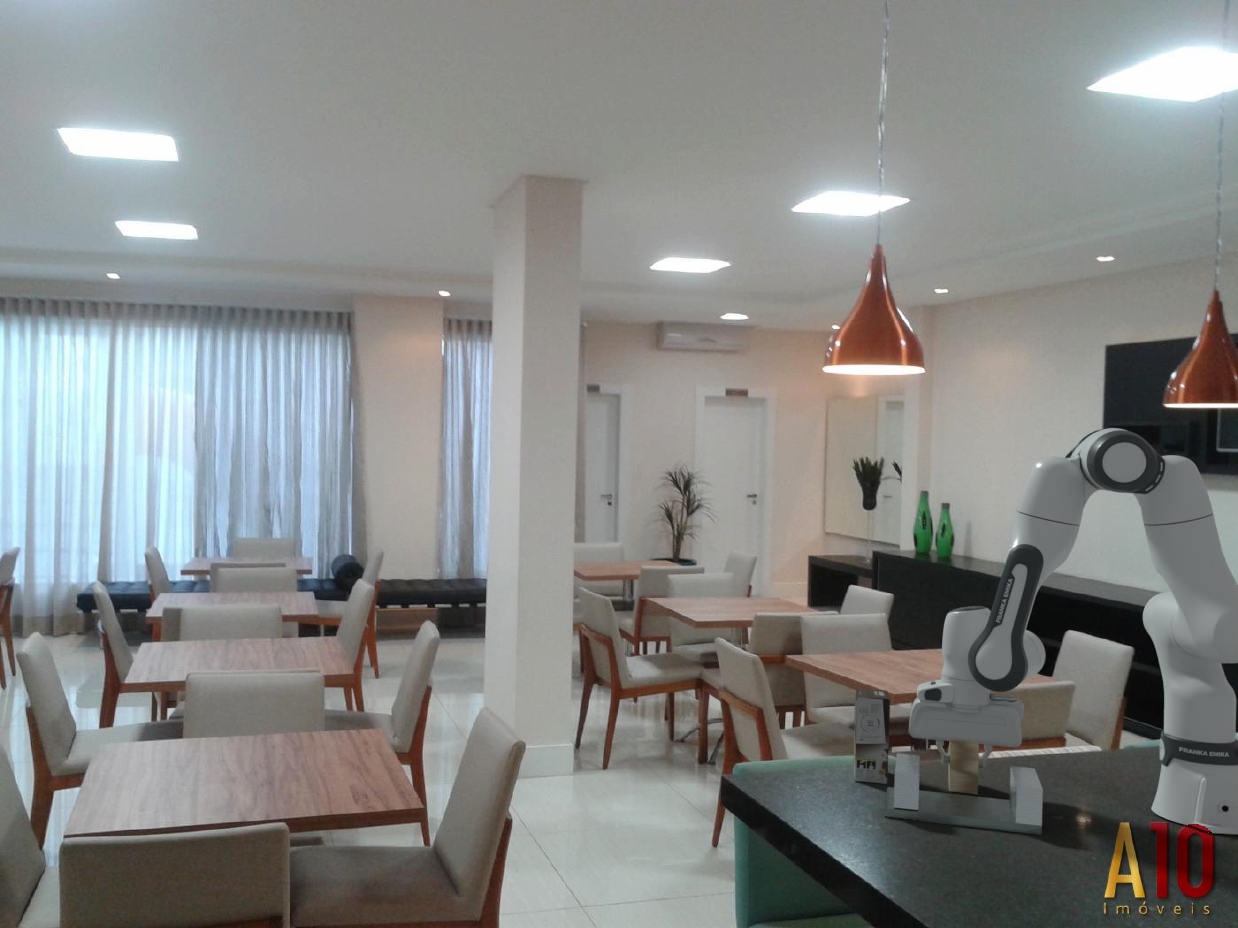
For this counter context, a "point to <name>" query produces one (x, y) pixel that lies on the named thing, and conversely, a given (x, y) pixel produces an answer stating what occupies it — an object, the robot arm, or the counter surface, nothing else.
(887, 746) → the coffee box
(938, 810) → the vise base
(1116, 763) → the counter surface
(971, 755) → the maple block
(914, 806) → the block
